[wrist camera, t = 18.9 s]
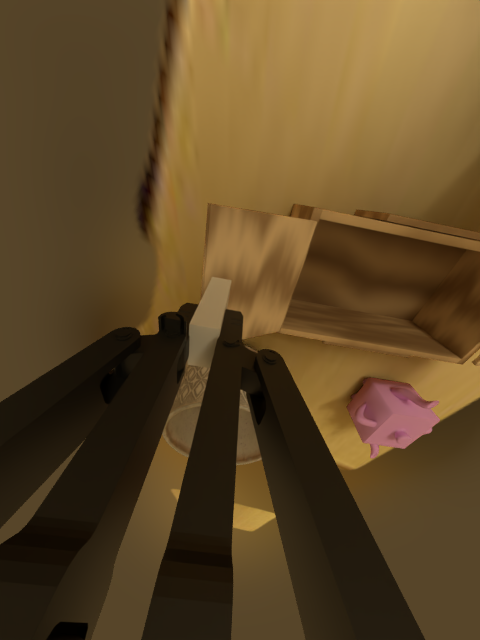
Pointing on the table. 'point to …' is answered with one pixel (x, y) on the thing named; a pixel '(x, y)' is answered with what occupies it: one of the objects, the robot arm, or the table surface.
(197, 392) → the planter
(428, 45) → the table surface
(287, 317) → the carton
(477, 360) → the flap
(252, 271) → the flap
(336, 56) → the table surface
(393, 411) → the teapot
